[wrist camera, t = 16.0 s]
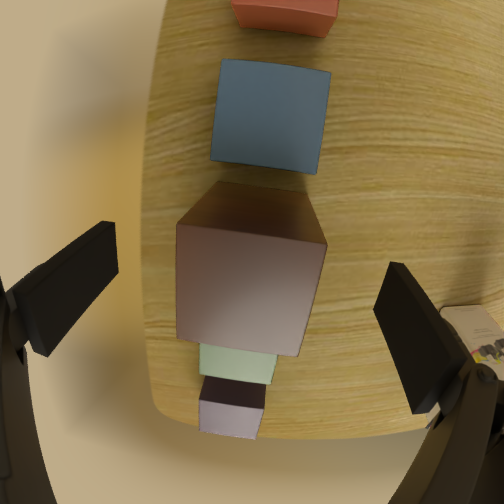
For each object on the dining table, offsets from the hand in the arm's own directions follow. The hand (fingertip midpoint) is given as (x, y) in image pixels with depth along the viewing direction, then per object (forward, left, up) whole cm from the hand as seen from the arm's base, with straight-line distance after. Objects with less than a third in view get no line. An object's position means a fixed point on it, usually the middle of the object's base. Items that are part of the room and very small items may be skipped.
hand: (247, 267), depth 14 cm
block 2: (-4, +5, -6) cm, 9 cm away
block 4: (+10, -12, -6) cm, 16 cm away
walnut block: (0, 0, -6) cm, 6 cm away
